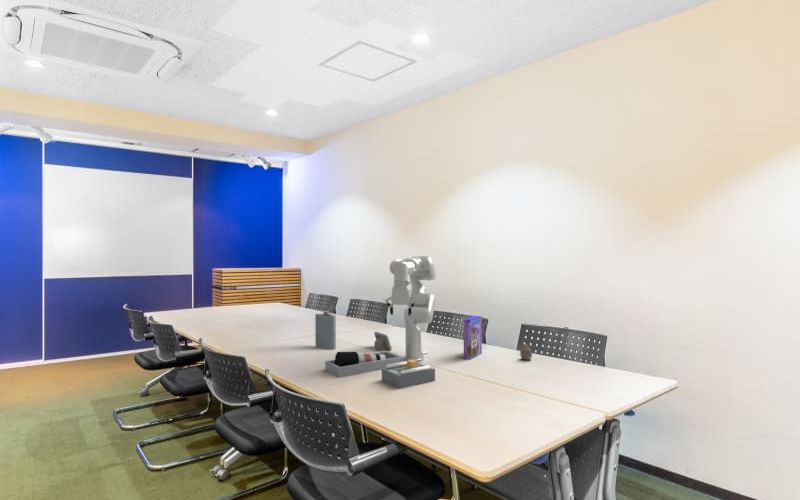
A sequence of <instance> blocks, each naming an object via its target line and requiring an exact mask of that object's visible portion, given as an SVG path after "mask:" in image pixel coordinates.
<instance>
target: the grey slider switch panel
mask: <svg viewBox="0 0 800 500" xmlns="http://www.w3.org/2000/svg"><path fill="white" fill-rule="evenodd" d="M422 366H426V365H424V364H422V363H419V362H418V367H422ZM407 369H410V368H407V365H405V366H400V367H395V368H389V369H388V368H384V369H382V370H381V381H382V382H384V383H386V384H388V383H389V385H390V384H391V386H392V387H395V388H397V387H398V388H397V389H399V388H400V389H404V388H408V387H414V386H417V385H422V384H423V385H424V384H427V383H431V382H436V368H433V367H431V368H430V369H428V370H423V371H418V372H413V373H408V374H403V375H402V374H401V371H402V370H407ZM413 385H414V386H413Z"/></svg>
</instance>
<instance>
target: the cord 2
mask: <svg viewBox="0 0 800 500" xmlns="http://www.w3.org/2000/svg"><path fill="white" fill-rule="evenodd" d="M430 368H432V366H431V365H429V364H427V365H425V366H422V367H417V368H412V369H407V370H402V371H401V374H402V375H403V374H408V373H413V372H418V371H423V370H428V369H430Z"/></svg>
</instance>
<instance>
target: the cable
mask: <svg viewBox="0 0 800 500" xmlns="http://www.w3.org/2000/svg"><path fill="white" fill-rule="evenodd" d="M384 359H390V358H386V357H385V355H384V354H381V355H379V354H374V353H358V352H357V351H337V352H336V354H335V357H334V360H335V365H337V366H339V367H343V366H348V365H354V364H360V363H366V362H372V361H378V360H384Z"/></svg>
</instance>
